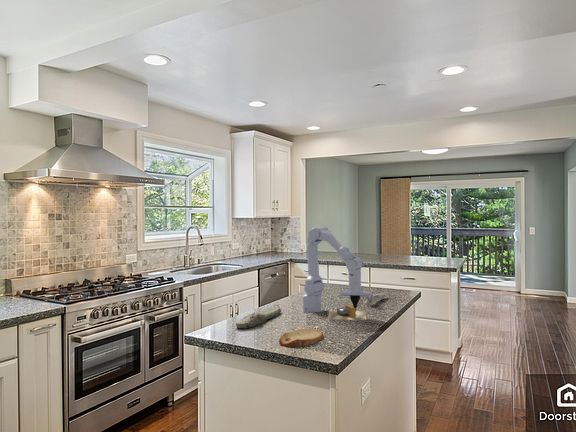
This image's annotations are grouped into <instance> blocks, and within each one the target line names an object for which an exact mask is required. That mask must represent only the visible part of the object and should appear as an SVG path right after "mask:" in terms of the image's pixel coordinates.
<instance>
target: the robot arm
mask: <svg viewBox="0 0 576 432" xmlns="http://www.w3.org/2000/svg"><path fill="white" fill-rule="evenodd" d="M307 235H308V237H307V239H306V253H307V270H308V271H307V272H308V276H307V277H306V278H305V279H304V281H305V283H304V286H303V289H304V291H305V293H304V294H303V296H302V309H303V311H302V313H305V314H307V313H319V312H323V311H324V310H323V308H322V293H323V291H324V289H325V286H324V283H323V278H322V277H321V276H320V267H319V266H320V265H319V252H318V248H319V247H318V245H319V244H320V243H322V241H323V242H327V243H328V244H329V245H330V246H331V247H332V248H333V249H335V251H336V253H337V256H338V257H339V258H340V260H342V261H343V262H344V263H345V267H346V269H347V273H348V290H347V291H344V290H343V291H339V297H349V299H350V301H351V304H352V307H355V312H356V311H357V308H358V304H359V301H360V299H361V297H362V298H366V297H371V295H372V294H371V292H370V291H367V292H365V291H362V272H361V271H362V268H363V265H364V262H363V259H362V258H361V257H359V256H356V255H355V254H354V253H353V252H352V251H351V250H350V248H349V247H348V246H343V245H342V244H341V243H340V242H339V241H338V240H337V239H336V237H335V236H334V235H333V233H332V231H331V230H330V229H328V227H326V226H319V227H316V226H314V227H313V226H312V228H310V229H309V230H308V231H307Z"/></svg>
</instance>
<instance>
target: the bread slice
mask: <svg viewBox="0 0 576 432" xmlns="http://www.w3.org/2000/svg"><path fill="white" fill-rule="evenodd" d="M323 339H324V334H323V331H321V330H319V329H318V328H313V327H312V328H303V329H297V330H292V331H288V332H284V333H283V334H282V335H281V336H280V337H279V340H278V343H279V346H281V347H283V346H284V348H285V347H286V348H299V347H301V346H302V347H307V346H310V345H315V344H317V343H318V342H321V341H322V340H323Z"/></svg>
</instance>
